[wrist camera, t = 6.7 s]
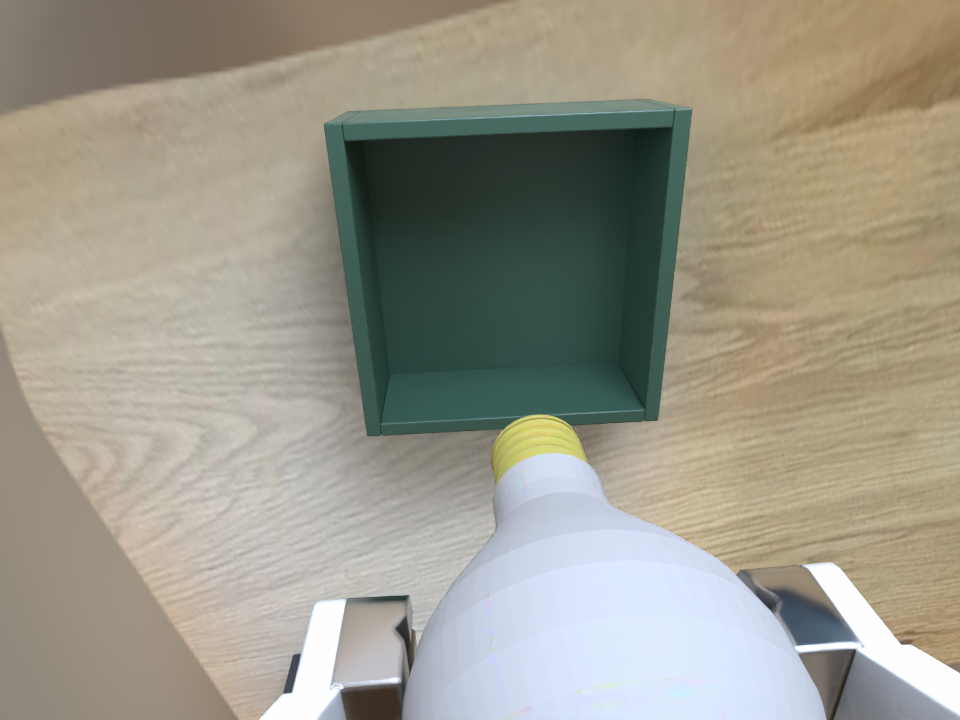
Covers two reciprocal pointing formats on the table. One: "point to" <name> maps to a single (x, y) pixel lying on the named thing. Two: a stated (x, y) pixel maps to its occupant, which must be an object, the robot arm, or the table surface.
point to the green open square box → (509, 259)
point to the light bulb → (596, 612)
